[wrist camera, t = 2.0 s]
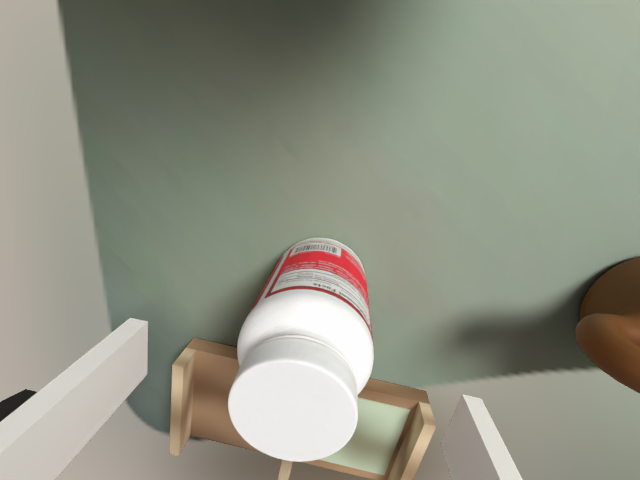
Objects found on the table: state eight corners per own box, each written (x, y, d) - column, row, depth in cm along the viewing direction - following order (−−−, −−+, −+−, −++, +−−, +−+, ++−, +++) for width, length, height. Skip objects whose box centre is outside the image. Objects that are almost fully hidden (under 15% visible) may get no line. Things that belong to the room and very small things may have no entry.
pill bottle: (314, 329, 23) (282, 497, 12) (259, 268, 21) (171, 395, 11) (384, 285, 21) (416, 436, 10) (328, 216, 20) (302, 308, 9)
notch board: (193, 337, 24) (172, 364, 21) (426, 391, 23) (436, 426, 20) (188, 420, 27) (169, 454, 24) (393, 469, 26) (398, 509, 24)
